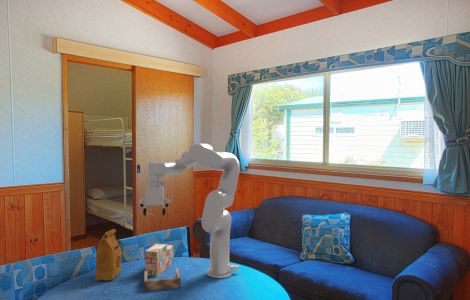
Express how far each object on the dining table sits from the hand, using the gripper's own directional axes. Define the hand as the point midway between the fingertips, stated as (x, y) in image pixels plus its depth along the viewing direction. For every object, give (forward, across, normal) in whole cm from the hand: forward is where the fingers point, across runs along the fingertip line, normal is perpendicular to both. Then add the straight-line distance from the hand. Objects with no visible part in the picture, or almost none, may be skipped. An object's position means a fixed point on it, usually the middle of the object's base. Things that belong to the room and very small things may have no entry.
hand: (154, 215), depth 183 cm
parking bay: (+24, -6, +33) cm, 41 cm away
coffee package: (+25, +19, +22) cm, 38 cm away
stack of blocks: (+25, -4, +13) cm, 28 cm away
